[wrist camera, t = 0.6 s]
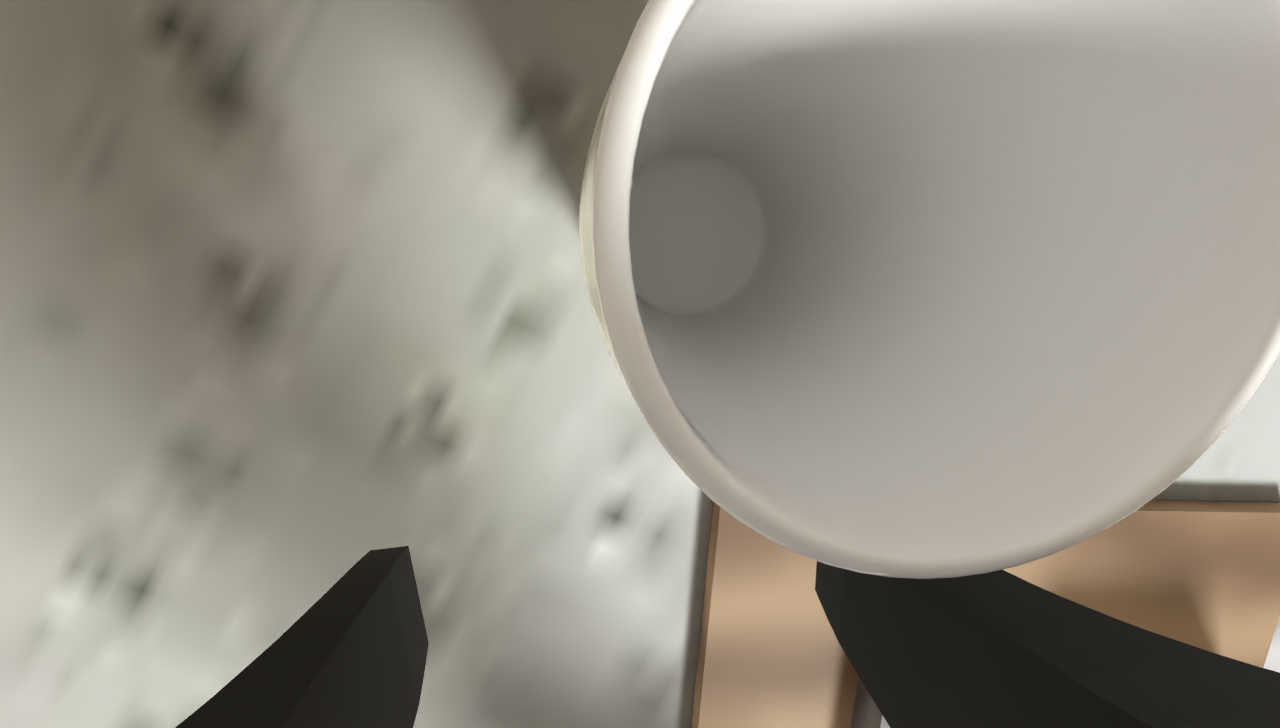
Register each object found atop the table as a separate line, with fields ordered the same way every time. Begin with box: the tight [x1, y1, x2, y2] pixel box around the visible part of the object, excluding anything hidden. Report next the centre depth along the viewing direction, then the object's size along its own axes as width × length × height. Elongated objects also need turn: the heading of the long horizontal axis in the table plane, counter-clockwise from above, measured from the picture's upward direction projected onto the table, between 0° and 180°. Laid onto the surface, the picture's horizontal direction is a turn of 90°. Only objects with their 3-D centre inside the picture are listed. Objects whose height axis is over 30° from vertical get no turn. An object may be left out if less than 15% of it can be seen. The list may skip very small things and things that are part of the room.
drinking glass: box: [579, 0, 1280, 579], centre depth 12 cm, size 7×7×15 cm
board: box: [691, 500, 1280, 728], centre depth 23 cm, size 14×24×3 cm, turn 86°
